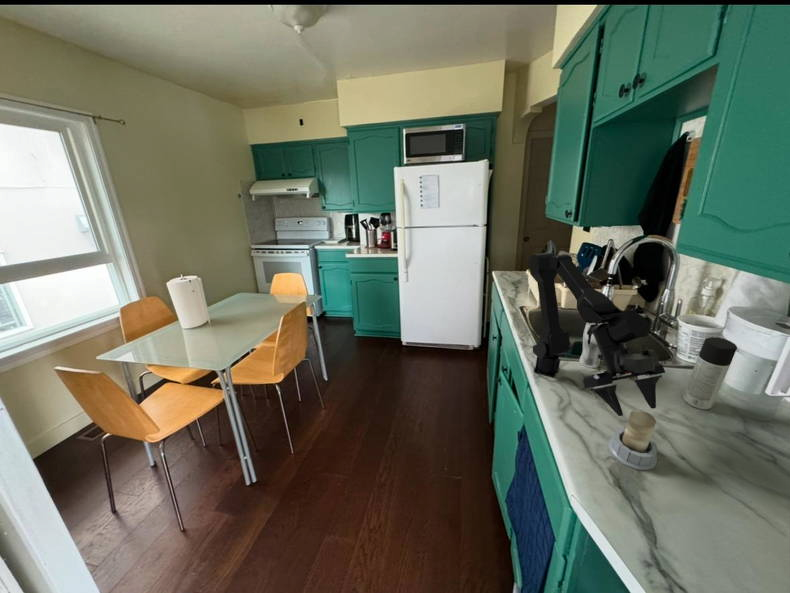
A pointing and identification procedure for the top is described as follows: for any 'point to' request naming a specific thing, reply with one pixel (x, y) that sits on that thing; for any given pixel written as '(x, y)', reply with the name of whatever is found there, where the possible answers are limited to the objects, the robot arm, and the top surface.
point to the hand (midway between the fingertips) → (637, 412)
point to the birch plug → (638, 431)
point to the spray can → (709, 372)
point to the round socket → (632, 453)
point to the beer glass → (590, 349)
